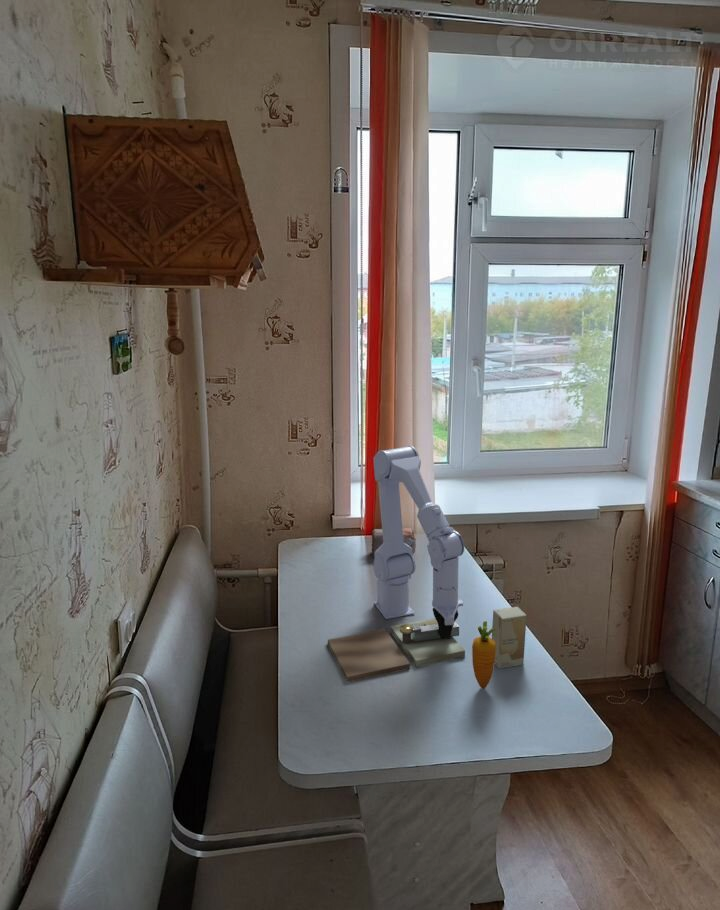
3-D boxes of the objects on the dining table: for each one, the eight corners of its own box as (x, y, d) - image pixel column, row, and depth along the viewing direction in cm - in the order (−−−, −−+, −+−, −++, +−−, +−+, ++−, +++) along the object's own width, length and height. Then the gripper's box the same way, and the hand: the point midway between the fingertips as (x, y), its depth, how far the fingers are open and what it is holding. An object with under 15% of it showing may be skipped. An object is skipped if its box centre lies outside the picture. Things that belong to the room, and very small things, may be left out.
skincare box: (499, 669, 138) (500, 619, 135) (489, 658, 142) (491, 609, 139) (525, 664, 139) (527, 614, 136) (515, 654, 143) (517, 605, 140)
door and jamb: (327, 644, 149) (327, 629, 148) (435, 623, 157) (435, 609, 156) (347, 681, 134) (346, 665, 133) (464, 656, 143) (465, 641, 142)
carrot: (478, 678, 134) (479, 615, 131) (499, 687, 131) (501, 622, 128) (466, 689, 131) (467, 624, 127) (487, 698, 128) (489, 632, 124)
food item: (412, 548, 205) (412, 520, 202) (416, 558, 197) (416, 529, 195) (370, 551, 203) (370, 522, 201) (373, 561, 196) (373, 531, 193)
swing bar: (402, 644, 144) (401, 631, 144) (398, 637, 147) (398, 625, 147) (459, 636, 147) (459, 623, 147) (454, 629, 150) (455, 617, 150)
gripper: (468, 598, 136) (467, 654, 139) (458, 570, 150) (457, 622, 153) (435, 599, 136) (435, 655, 139) (428, 571, 150) (428, 622, 153)
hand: (445, 638), depth 146 cm, fingers closed
